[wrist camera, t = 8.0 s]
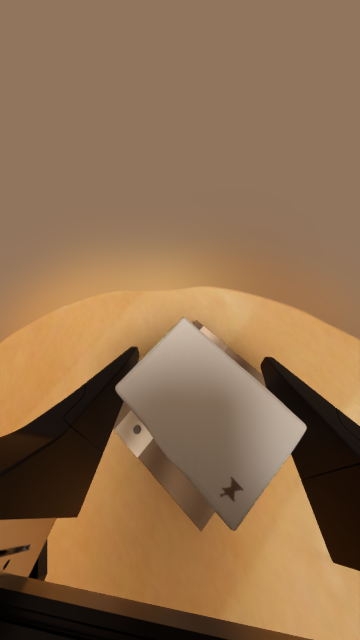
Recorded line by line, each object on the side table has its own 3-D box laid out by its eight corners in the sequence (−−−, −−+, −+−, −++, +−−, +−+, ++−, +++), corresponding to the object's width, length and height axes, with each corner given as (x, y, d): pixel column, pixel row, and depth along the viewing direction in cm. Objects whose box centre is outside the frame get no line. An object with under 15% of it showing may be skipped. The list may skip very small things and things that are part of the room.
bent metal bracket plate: (283, 395, 17) (294, 401, 15) (199, 513, 15) (201, 534, 13) (195, 322, 19) (196, 319, 17) (114, 415, 17) (106, 422, 16)
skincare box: (223, 368, 16) (318, 432, 4) (199, 396, 16) (235, 547, 4) (186, 335, 17) (183, 312, 5) (163, 359, 17) (107, 392, 5)
